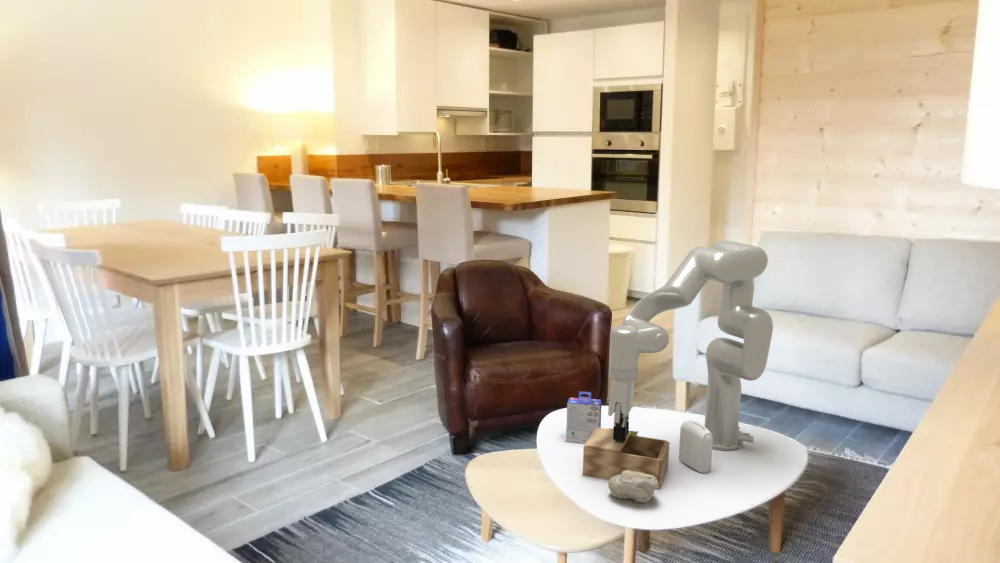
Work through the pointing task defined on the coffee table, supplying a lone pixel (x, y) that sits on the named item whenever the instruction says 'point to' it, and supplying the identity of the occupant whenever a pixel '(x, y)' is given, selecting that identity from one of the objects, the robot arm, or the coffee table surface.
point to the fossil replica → (633, 486)
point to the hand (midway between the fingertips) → (620, 436)
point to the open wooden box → (629, 459)
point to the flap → (606, 439)
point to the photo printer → (696, 446)
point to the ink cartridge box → (582, 417)
